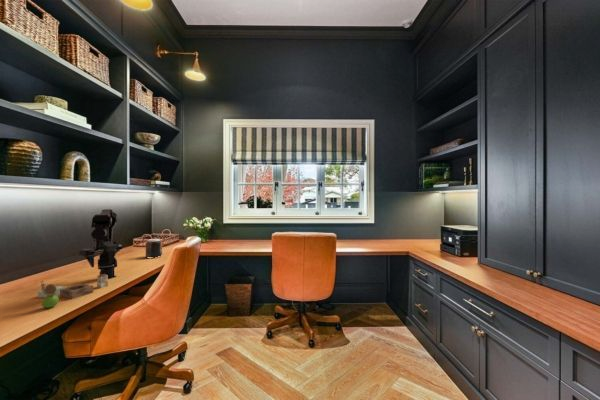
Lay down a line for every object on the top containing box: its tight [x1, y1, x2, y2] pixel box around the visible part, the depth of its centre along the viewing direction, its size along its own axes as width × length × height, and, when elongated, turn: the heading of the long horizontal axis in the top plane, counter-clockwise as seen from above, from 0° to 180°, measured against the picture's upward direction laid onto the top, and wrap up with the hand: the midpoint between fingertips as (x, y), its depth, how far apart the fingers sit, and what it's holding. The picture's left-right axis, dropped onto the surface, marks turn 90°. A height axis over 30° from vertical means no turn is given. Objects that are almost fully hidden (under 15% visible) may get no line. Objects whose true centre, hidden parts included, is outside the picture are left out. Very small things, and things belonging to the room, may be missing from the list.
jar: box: [145, 238, 163, 258], centre depth 208 cm, size 12×12×15 cm
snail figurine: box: [40, 280, 60, 309], centre depth 110 cm, size 5×6×12 cm
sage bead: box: [37, 285, 67, 298], centre depth 125 cm, size 7×7×3 cm
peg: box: [96, 274, 109, 289], centre depth 136 cm, size 3×3×6 cm
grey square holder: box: [59, 283, 94, 300], centre depth 125 cm, size 9×9×4 cm
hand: (102, 265), depth 136 cm, fingers open, 9 cm apart
